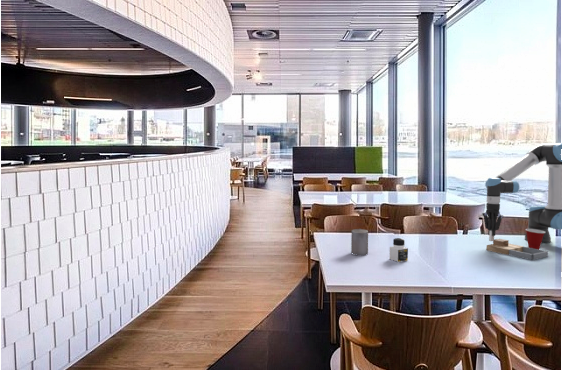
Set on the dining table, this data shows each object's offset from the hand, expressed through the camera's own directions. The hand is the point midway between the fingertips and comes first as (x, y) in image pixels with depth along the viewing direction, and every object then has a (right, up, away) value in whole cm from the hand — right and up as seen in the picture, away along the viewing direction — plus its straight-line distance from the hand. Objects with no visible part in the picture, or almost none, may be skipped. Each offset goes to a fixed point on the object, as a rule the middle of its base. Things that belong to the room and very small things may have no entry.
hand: (491, 240), depth 279 cm
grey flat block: (+12, -6, -19) cm, 24 cm away
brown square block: (+3, -2, -5) cm, 6 cm away
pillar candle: (-84, -6, -15) cm, 86 cm away
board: (+5, -5, -7) cm, 10 cm away
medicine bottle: (-65, -7, -29) cm, 72 cm away
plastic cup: (+25, -5, -3) cm, 25 cm away
